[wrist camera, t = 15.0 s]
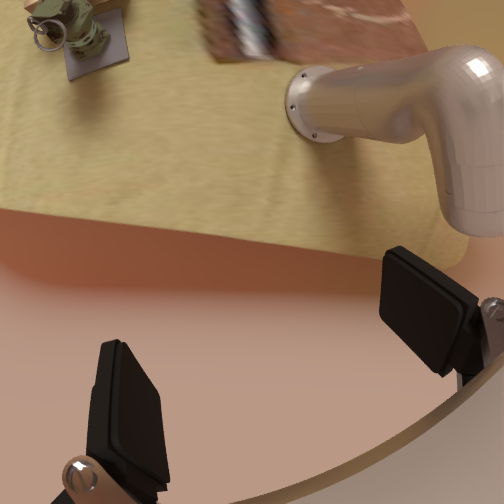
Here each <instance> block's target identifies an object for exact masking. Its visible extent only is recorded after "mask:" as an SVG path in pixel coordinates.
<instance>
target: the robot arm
mask: <svg viewBox="0 0 504 504" xmlns="http://www.w3.org/2000/svg"><path fill="white" fill-rule="evenodd" d="M302 75H303V77H302ZM285 106H286V111H287V114H288V118H289V119H290V121H291V123H292V125H293V126H294V127H295V129H296V130H297V131H298V132H299V133H300V134H301V135H302V136H304V137H306V138H307V139H309V140H312V141H315V142H320V143H331V142H335V141H338V140H340V139H342V138H343V137H345V136H350V137H357V138H363V139H370V140H376V141H382V142H388V143H394V144H404V143H409V142H412V141H414V140H416V139H418V138H419V137H421V136H422V135H424V134H426V138H427V142H428V146H429V150H430V153H431V158H432V163H433V168H434V174H435V180H436V186H437V192H438V198H439V204H440V208H441V211H442V214H443V216H444V218H445V220H446V221H447V223H448V224H449V225H450V226H451V227H452V228H454V229H455V230H457V231H458V232H460V233H463V234H466V235H469V236H474V237H500V236H504V67H503V65H502V64H501V62H500V61H499V60H498V59H497V58H496V57H495V56H494V55H493V54H492V53H490V52H489V51H487V50H486V49H484V48H481V47H479V46H476V45H469V44H459V45H451V46H446V47H442V48H439V49H436V50H432V51H429V52H425V53H422V54H418V55H414V56H410V57H406V58H401V59H396V60H390V61H384V62H378V63H372V64H367V65H361V66H356V67H351V68H346V69H341V70H335V69H333V68H330V67H327V66H312V67H309V68H306V69H304V70H302V71H300V72H299V73H297V74H296V75H295V76H294V77H293V79H292V80H291V81H290V83H289V85H288V87H287V91H286V95H285ZM290 106H291V107H292V109H291V108H290ZM312 134H313V137H312ZM382 266H383V267H382V282H381V295H380V307H379V314H380V317H381V319H382V320H383V321H384V322H385V323H386V324H387V325H388V326H389V327H390V328H391V329H392V330H393V331H394V332H395V333H396V334H397V335H398V336H399V337H400V338H401V339H402V340H403V341H404V342H405V343H406V344H407V345H408V347H409V348H410V349H411V350H412V351H413V352H414V353H415V354H416V355H417V356H418V357H419V358H420V359H421V360H422V361H423V362H424V363H425V364H426V365H427V366H428V367H429V368H430V369H431V370H432V371H433V372H434V373H438V374H439V375H440V376H441V377H442V378H443V377H444V376H446V375H447V374H448V373H450V372H451V371H452V369H453V368H454V369H455V370H456V372H457V392H456V393H455V394H454V395H453V396H451V397H450V398H449V399H447V400H446V401H445V402H444V403H442V404H441V405H440V406H438V407H437V408H436V409H434V410H433V411H432V412H430V413H429V414H427V415H426V416H424V417H423V418H422V419H420V420H419V421H417V422H416V423H414V424H413V425H411V426H410V427H408V428H407V429H405V430H403V431H402V432H400V433H399V434H397V435H395V436H394V437H392V438H390V439H389V440H387V441H386V442H384V443H382V444H380V445H378V446H377V447H375V448H373V449H371V450H369V451H367V452H366V453H364V454H362V455H360V456H358V457H356V458H354V459H352V460H350V461H348V462H346V463H344V464H342V465H340V466H337V467H335V468H333V469H331V470H328V471H326V472H324V473H321V474H319V475H317V476H314V477H312V478H309V479H307V480H304V481H302V482H299V483H296V484H294V485H291V486H288V487H285V488H282V489H279V490H277V491H273V492H270V493H267V494H264V495H260V496H257V497H253V498H250V499H246V500H242V501H238V502H234V503H230V504H504V300H502V299H500V298H495V297H491V298H487V299H485V300H484V301H483V302H482V303H481V306H480V307H479V306H478V305H477V304H478V300H479V298H478V297H476V296H475V295H474V294H472V293H471V292H469V291H468V290H467V289H465V288H464V287H462V286H461V285H459V284H458V283H457V282H455V281H454V280H452V279H451V278H450V277H448V276H447V275H445V274H444V273H442V272H441V271H439V270H438V269H436V268H435V267H433V266H432V265H430V264H429V263H427V262H426V261H424V260H423V259H421V258H420V257H418V256H416V255H415V254H413V253H412V252H410V251H409V250H407V249H405V248H404V247H402V246H397V247H394V248H392V249H389V250H387V251H386V253H385V256H384V257H383V264H382ZM62 481H63V485H64V487H65V489H64V490H63V491H62V492H61V494H60V495H59V496H58V497H57V498H56V499H55V500H54V501H53V502H52V503H51V504H160V503H159V502H158V501H157V500H158V497H157V492H162V491H168V490H167V484H166V483H169V482H170V474H169V468H168V461H167V454H166V447H165V439H164V431H163V422H162V412H161V401H160V396H159V393H158V391H157V390H156V388H155V387H154V385H153V384H152V382H151V381H150V379H149V378H148V376H147V375H146V373H145V372H144V371H143V369H142V367H141V366H140V364H139V363H138V361H137V360H136V358H135V357H134V355H133V353H132V352H131V350H130V348H129V347H128V345H127V344H126V343H125V342H122V343H121V341H120V340H118V339H116V340H112V341H108V342H104V343H102V345H101V349H100V355H99V361H98V367H97V374H96V381H95V385H94V386H93V388H92V393H91V401H90V410H89V420H88V432H87V447H86V456H82V455H80V456H77V457H74V458H73V459H71V460H70V461H69V462H68V463H67V464H66V465H65V467H64V470H63V474H62Z"/></svg>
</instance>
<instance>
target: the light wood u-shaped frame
mask: <svg viewBox="0 0 504 504" xmlns="http://www.w3.org/2000/svg"><path fill="white" fill-rule="evenodd" d="M39 1H40V0H26V1H24V9H26V10H27V11H28V12H30V13H31V14H33V12H34V10H35V8H36V7H37V5H38V3H39ZM87 1H88V2H89V3H90V4H91V6H94V5H97V4H100V3H103V2H106V1H109V0H87Z"/></svg>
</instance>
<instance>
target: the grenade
mask: <svg viewBox="0 0 504 504" xmlns="http://www.w3.org/2000/svg"><path fill="white" fill-rule="evenodd" d="M94 12H95V10H94V8H93V7H92V6H91V4H90V3H89V2H88V1H87V0H40V1H39V3H38V5H37V7H36V8H35V10H34V12H33V14H32V15H30V16H29V17H28V18H27V22H28V25H29V27H30V28H31V30H32V31H33V32H34V41H35V44H36V45H37V47H38V48H40V49H41V50H43V51H46V52H52V51H55V50H58V49H59V48H60V47H61V46H62V45H63V44H64V43H65V41H66V42H67V43H68V46H67V47H68V48H69V50H70V51H71V52H72V53H73V54H74V55H75V57H76V58H77V59H78V60H79V61H83V60H86V59H89V58H93V57H96V56H98V55H101V54H102V52H103V50H104V48H105V46H106V44H107V42H108V40H109V38H110V34H109V33H108V32H107V30H106V29H105V28H104V27H103V26H102V25H101V24H100V23H99V22H98V21H96V22H93V20H92V19H91V18H92V16H93V14H94ZM31 17H32V18H31ZM31 20H32V22H31ZM90 22H91V23H90ZM30 24H31V25H30ZM32 24H35V25H38V26H37V28H34V26H33V25H32ZM31 26H32V27H31ZM39 26H40V27H41V28H42V30H43V31H44V32H43V31H40V30H37V29H38V28H39ZM33 29H34V30H33ZM39 32H40V33H39ZM36 33H37V34H41V35H46V34H47V36H48V37H49V38H50V39H51V40H52V41H53V42H54V43H56V44H57V43H60V42H62V43H61V45H60V46H58V47H57V48H54V49H47V48H45V47H43V46H42V45H41V44H39V42H38V40H37V34H36ZM69 40H70V41H69Z"/></svg>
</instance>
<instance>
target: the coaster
mask: <svg viewBox="0 0 504 504" xmlns="http://www.w3.org/2000/svg"><path fill="white" fill-rule="evenodd" d="M91 19H92V20H93V22H96V21H98V22H99V23H100V24H101V25H102V26H103V27H104V28H105V29H106V30H107V32H108V33H109V34H110V38H109V40H108V42H107V44H106V46H105V48H104V50H103V52H102V54H101V55H98V56H96V57H93V58H89V59H86V60H83V61H79V60H78V59H77V58H76V57H75V55H74V54H73V53H72V52H71V51H70V50H69V48H68V47H67V46H68V43H67V42H66V41H65V43H64V44H63V47H64V55H65V62H66V68H67V75H68V80H69V81H71V80H74V79H76V78H78V77H81V76H83V75H86V74H88V73H91V72H93V71H96V70H98V69H101V68H104V67H106V66H109V65H112V64H115V63H118V62H121V61H124V60H127V59H129V54H128V49H127V43H126V37H125V31H124V25H123V19H122V12H121V7H119V8H116V9H112V10H109V11H107V12H104V13H101V14H98V15H95V16H93V17H92V18H91ZM90 23H91V22H90ZM69 41H70V40H69Z"/></svg>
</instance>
